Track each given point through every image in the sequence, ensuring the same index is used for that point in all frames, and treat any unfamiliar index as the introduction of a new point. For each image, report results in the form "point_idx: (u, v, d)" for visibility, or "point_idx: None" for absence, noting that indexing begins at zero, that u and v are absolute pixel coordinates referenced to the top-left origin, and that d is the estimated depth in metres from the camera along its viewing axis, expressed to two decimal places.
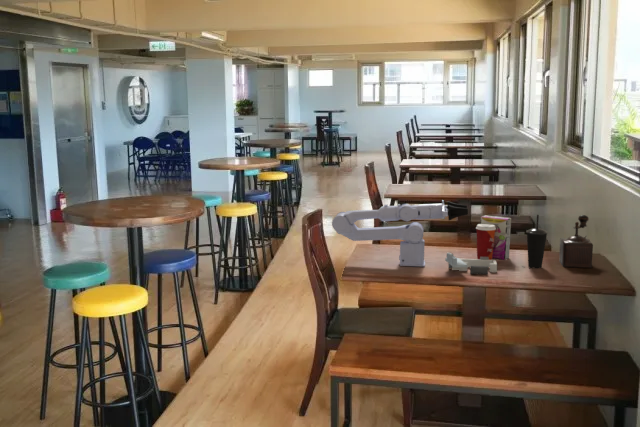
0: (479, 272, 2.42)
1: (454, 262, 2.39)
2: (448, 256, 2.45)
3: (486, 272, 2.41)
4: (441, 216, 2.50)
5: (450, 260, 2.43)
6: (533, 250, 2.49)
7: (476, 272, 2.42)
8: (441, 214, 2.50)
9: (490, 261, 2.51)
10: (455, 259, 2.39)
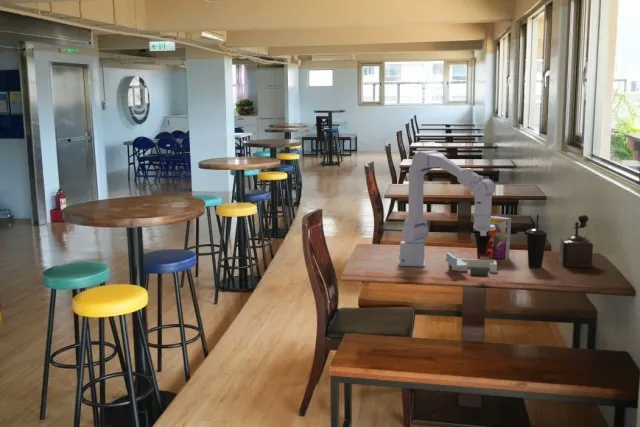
0: None
1: (454, 262, 2.39)
2: (448, 256, 2.45)
3: None
4: (477, 226, 2.33)
5: (450, 260, 2.43)
6: (533, 250, 2.49)
7: (476, 274, 2.42)
8: (480, 226, 2.32)
9: (490, 261, 2.51)
10: (455, 259, 2.39)
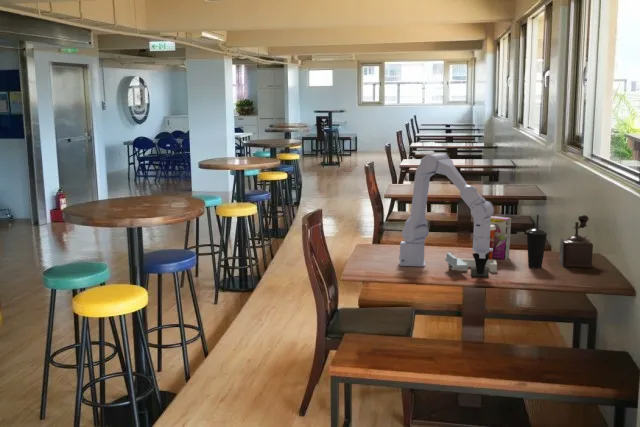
0: None
1: (454, 262, 2.39)
2: (448, 256, 2.45)
3: None
4: (476, 248, 2.34)
5: (450, 260, 2.43)
6: (533, 250, 2.49)
7: None
8: (479, 248, 2.34)
9: (490, 261, 2.51)
10: (455, 259, 2.39)
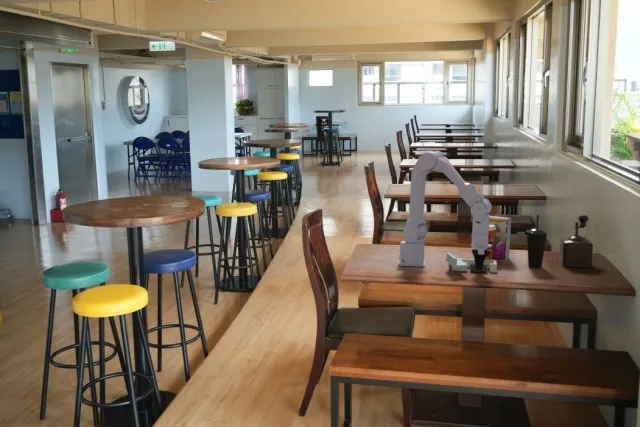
0: None
1: (454, 262, 2.39)
2: (448, 256, 2.45)
3: (485, 264, 2.46)
4: (475, 244, 2.40)
5: (450, 260, 2.43)
6: (533, 250, 2.49)
7: None
8: (477, 245, 2.40)
9: (490, 261, 2.51)
10: (455, 259, 2.39)
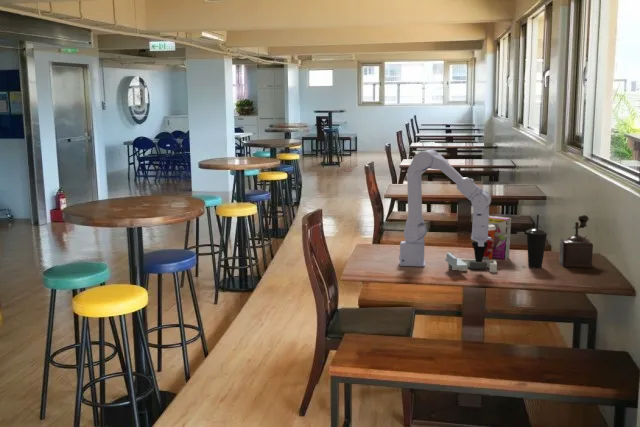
0: None
1: (454, 262, 2.39)
2: (448, 256, 2.45)
3: None
4: (475, 236, 2.42)
5: (450, 260, 2.43)
6: (533, 250, 2.49)
7: None
8: (477, 237, 2.41)
9: (490, 261, 2.51)
10: (455, 259, 2.39)
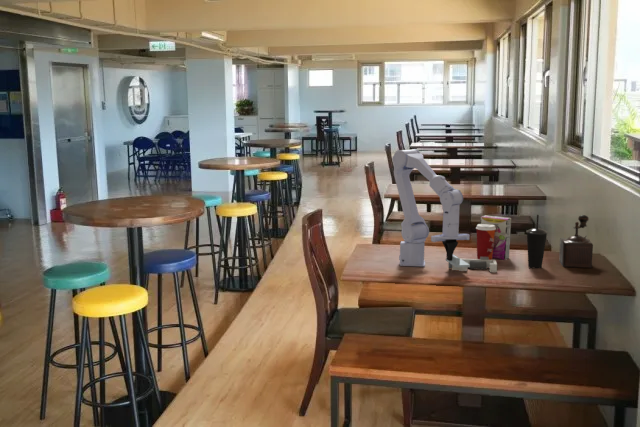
0: None
1: (457, 262, 2.39)
2: None
3: None
4: None
5: (452, 260, 2.43)
6: (533, 250, 2.49)
7: (475, 268, 2.50)
8: (442, 234, 2.42)
9: (490, 261, 2.51)
10: (458, 259, 2.39)
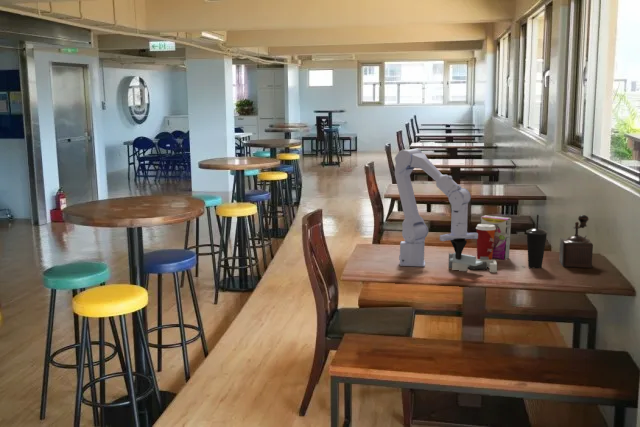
0: None
1: (474, 261, 2.41)
2: None
3: None
4: None
5: (464, 260, 2.43)
6: (533, 250, 2.49)
7: None
8: (451, 233, 2.43)
9: (490, 261, 2.51)
10: (475, 258, 2.41)
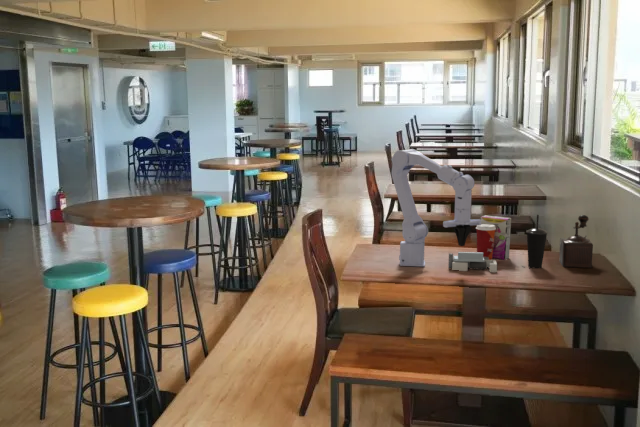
0: None
1: (482, 257, 2.47)
2: (465, 255, 2.47)
3: None
4: None
5: (472, 257, 2.47)
6: (533, 250, 2.49)
7: (475, 268, 2.50)
8: (454, 219, 2.42)
9: (490, 261, 2.51)
10: None
